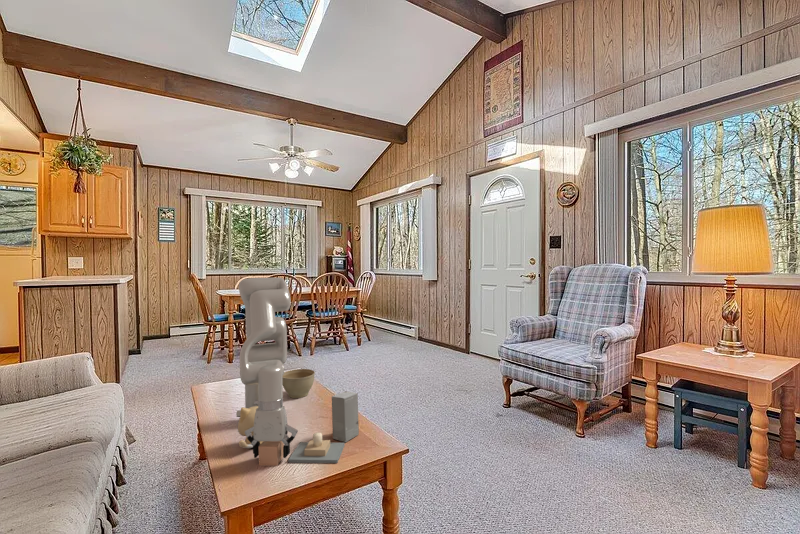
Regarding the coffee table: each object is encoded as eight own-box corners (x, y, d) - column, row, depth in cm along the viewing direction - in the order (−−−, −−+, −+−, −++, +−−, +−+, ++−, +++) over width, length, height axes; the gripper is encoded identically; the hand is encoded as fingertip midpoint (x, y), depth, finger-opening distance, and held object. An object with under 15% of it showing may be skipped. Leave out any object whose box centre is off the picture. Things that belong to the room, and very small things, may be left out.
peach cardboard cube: (258, 465, 121) (258, 446, 121) (266, 455, 127) (266, 438, 127) (277, 465, 121) (276, 446, 121) (283, 456, 127) (283, 438, 127)
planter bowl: (279, 392, 191) (278, 371, 191) (311, 388, 198) (311, 367, 198) (283, 403, 176) (283, 379, 176) (318, 397, 183) (317, 375, 183)
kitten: (270, 433, 144) (269, 394, 144) (282, 442, 137) (281, 401, 137) (229, 446, 134) (229, 404, 134) (240, 457, 127) (239, 412, 127)
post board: (288, 462, 123) (288, 442, 123) (300, 444, 135) (299, 426, 135) (337, 463, 122) (337, 443, 122) (344, 445, 134) (344, 427, 134)
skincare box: (345, 443, 136) (345, 399, 136) (330, 438, 139) (330, 395, 139) (360, 434, 143) (359, 392, 143) (345, 430, 147) (345, 389, 147)
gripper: (239, 408, 121) (240, 461, 121) (293, 408, 120) (293, 462, 120) (250, 399, 128) (250, 450, 128) (300, 399, 127) (301, 450, 127)
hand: (271, 455), depth 124 cm, fingers open, 9 cm apart
